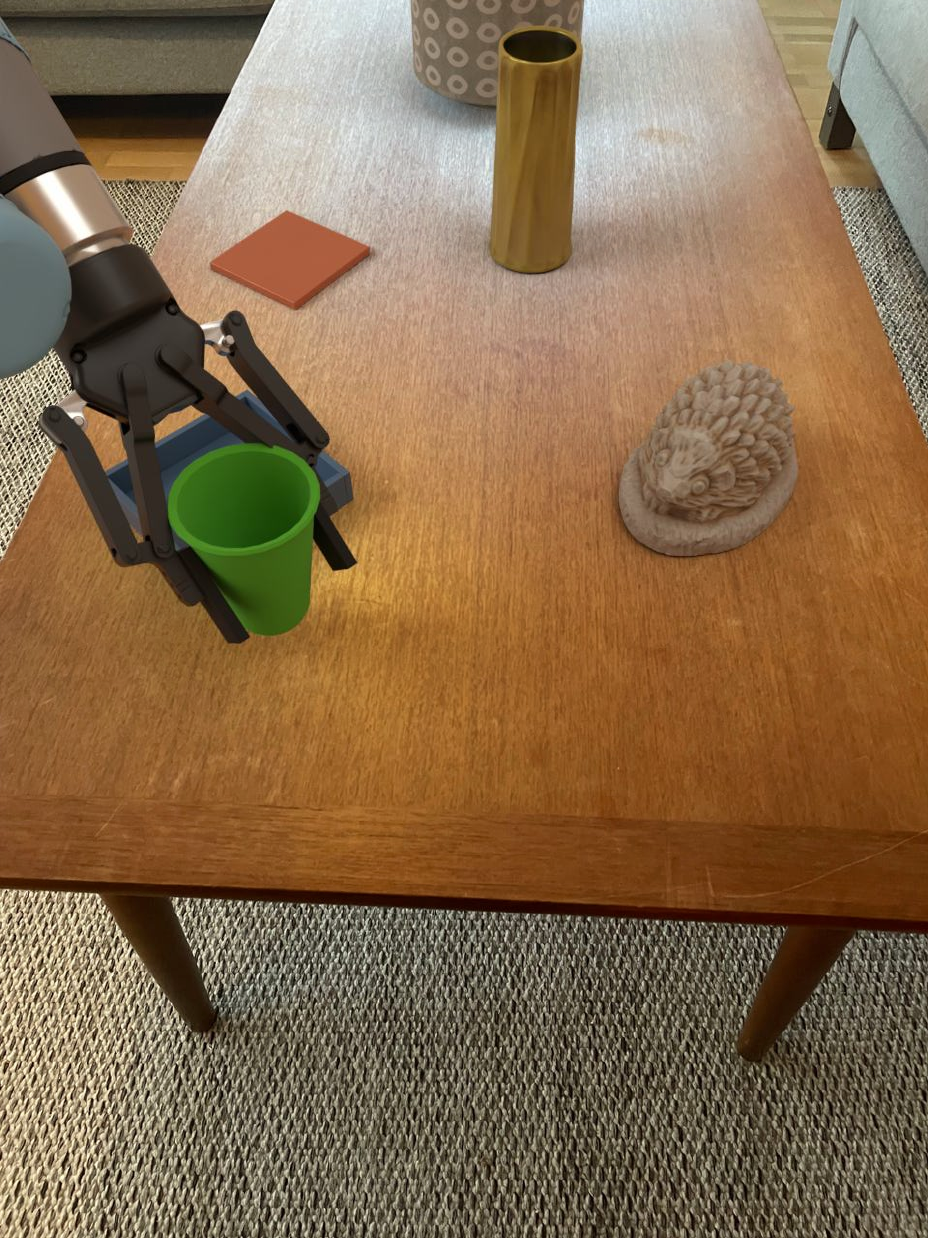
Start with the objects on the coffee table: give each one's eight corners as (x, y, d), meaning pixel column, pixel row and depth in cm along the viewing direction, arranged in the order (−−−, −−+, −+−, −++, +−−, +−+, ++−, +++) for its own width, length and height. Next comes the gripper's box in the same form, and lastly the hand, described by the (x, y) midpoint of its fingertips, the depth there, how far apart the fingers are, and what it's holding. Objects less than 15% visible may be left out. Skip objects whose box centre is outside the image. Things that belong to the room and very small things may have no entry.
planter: (564, 49, 122) (577, -127, 107) (587, 128, 111) (605, -57, 96) (411, 56, 121) (402, -120, 107) (418, 136, 110) (410, -49, 95)
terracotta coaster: (295, 310, 92) (293, 302, 91) (210, 269, 96) (209, 261, 95) (370, 253, 97) (369, 246, 96) (287, 216, 101) (286, 209, 100)
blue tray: (204, 598, 72) (194, 572, 69) (107, 502, 78) (95, 475, 75) (354, 498, 78) (350, 471, 75) (253, 416, 83) (247, 388, 81)
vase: (514, 284, 94) (522, 76, 78) (473, 240, 98) (473, 34, 83) (587, 259, 96) (609, 52, 81) (544, 217, 100) (556, 13, 85)
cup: (179, 603, 68) (136, 490, 59) (288, 536, 71) (263, 421, 62) (254, 686, 64) (220, 578, 55) (365, 611, 67) (350, 499, 58)
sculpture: (580, 508, 77) (593, 410, 69) (702, 398, 84) (727, 298, 76) (710, 588, 72) (739, 493, 64) (827, 464, 79) (867, 365, 71)
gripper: (212, 224, 64) (391, 524, 70) (-89, 367, 56) (142, 694, 62) (246, 178, 58) (440, 513, 64) (-90, 332, 49) (169, 702, 55)
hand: (293, 602), depth 63 cm, fingers closed on cup, 8 cm apart
